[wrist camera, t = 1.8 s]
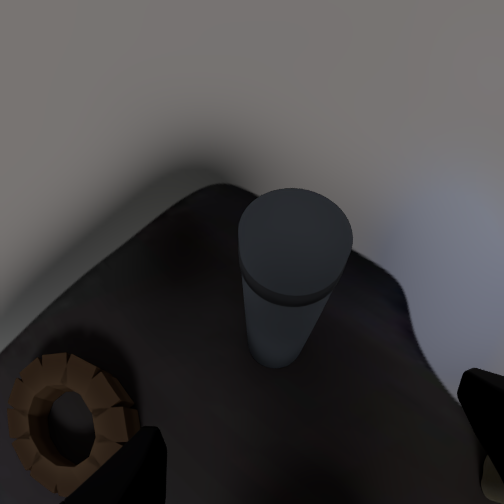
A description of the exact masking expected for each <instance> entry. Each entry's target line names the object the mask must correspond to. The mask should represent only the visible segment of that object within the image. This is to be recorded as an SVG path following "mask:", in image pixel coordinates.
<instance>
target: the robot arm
mask: <svg viewBox="0 0 504 504" xmlns="http://www.w3.org/2000/svg"><path fill="white" fill-rule="evenodd" d="M457 396H458V399H459V401H460V403H461V405H462V408H463V410H464V412H465V414H466V416H467V418H468V420H469V422H470V424H471V426H472V428H473V430H474V432H475V434H476V436H477V438H478V439H479V441H480V443H481V444H482V446H483V448H484V449H485V451H486V453H487V455H488V456H489V458H490V460H491V461H492V463H493V465H494V467H495V469H496V470H497V472H498V474H499V476H500V478H501V480H502V481H503V483H504V376H501V375H498V374H494V373H491V372H488V371H484V370H481V369H478V368H472V369H469V370H467V371H465V372H464V373H463V375H462V378H461V381H460V385H459V388H458V391H457ZM166 469H167V448H166V444H165V442H164V439H163V437H162V434H161V432H160V430H159V428H158V427H155V426H144V427H142V428H141V429H140V430H139V431H138V432H137V433H136V434H135V435H134V436H133V437H131V438H130V439H129V440H128V441H127V442H126V443H125V444H124V445H123V446H122V447H121V448H120V449H119V450H118V451H117V452H116V453H115V454H114V455H113V456H112V457H110V458H109V459H108V460H107V461H106V462H105V463H104V464H103V465H102V466H101V467H100V468H99V469H98V470H97V471H95V472H94V473H93V474H92V475H91V476H90V477H89V478H88V479H87V480H86V481H85V482H83V483H82V484H81V485H80V486H79V487H78V488H77V489H76V490H75V491H73V492H72V493H71V494H70V495H69V496H68V497H67V498H65V500H64V501H62V502H61V503H60V504H165V499H166Z"/></svg>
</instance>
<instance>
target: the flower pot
mask: <svg viewBox="0 0 504 504" xmlns="http://www.w3.org/2000/svg"><path fill="white" fill-rule="evenodd" d="M481 487H482V491H483V493H484V495H485V496H486V497H487V498H488V499H490V500H493V501H496V502H499V503H502V504H504V483H503V481H502V480H501V478H500V476H499V474H498V472H497V470H496V469H495V467H494V465H493V463H492V461H491V460H490V458H489V456H488V455H487V456H486V459H485V461H484V464H483V476H482V480H481Z"/></svg>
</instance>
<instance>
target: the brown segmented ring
mask: <svg viewBox="0 0 504 504" xmlns="http://www.w3.org/2000/svg"><path fill="white" fill-rule="evenodd" d="M20 376H21V378H22V379H19V378H16V380H15V383H14V386H13V389H12V392H11V395H10V398H9V401H8V403H9V404H10V405H11V406H12V407H13V408H14V409H7V413H8V425H9V434H10V438H17V440H15V441H14V442H13V443H12V445H13V447H14V449H15V451H16V453H17V455H18V457H19V459H20V461H21V462H22V464H23V466H24V468H25V470H31V473H30V476H32V477H33V478H34V479H35V480H37V481H38V482H39V483H40V484H42V485H43V486H44V487H46V488H47V489H48V490H50V491H51V492H52V493H58V494H59V496H64V497H68V496H69V495H70V494H71V493H72V492H73V491H75V490H76V489H77V488H78V487H79V486H80V485H81V484H82V483H83V482H85V481H86V480H87V479H88V478H89V477H90V476H91V475H92V474H93V473H94V472H95V471H97V470H98V469H99V468H100V467H101V466H102V465H103V464H104V463H105V462H106V461H107V460H108V459H109V458H110V457H112V456H113V455H114V454H115V453H116V452H117V451H118V450H119V449H120V448H121V447H122V446H123V445H124V444H125V443H126V442H127V441H128V440H129V439H130V438H131V437H133V436H134V435H135V434H136V433H137V432H138V431H139V430H140V429H141V428H140V422H139V416H138V410H136V409H131V408H130V407H131V406H133V405H134V404H135V403H134V402H133V401H132V399H131V398H130V396H129V395H128V394H127V392H126V391H125V389H124V388H123V387H122V385H121V384H120V382H119V381H118V379H117V378H114V377H112V374H110V373H108V372H106V371H104V370H102V369H100V368H98V367H96V366H94V365H92V364H90V363H89V362H87V361H85V360H83V359H81V358H79V357H77V356H75V355H73V354H71V355H70V354H68V353H57V354H48V355H42V359H40V358H38V357H37V358H36V359H35V360H34V361H33V362H31V363H30V364H29V365H28V366H27V367H26V368H25V369H24V370H22V371H21V372H20ZM70 391H75V392H77V393H78V394H80V395H81V397H82V398H83V400H84V402H85V403H86V405H87V406H88V408H89V410H90V411H91V413H92V415H93V422H94V429H95V435H96V438H95V441H94V444H93V447H92V450H91V453H90V456H89V457H88V458H87V459H86V460H84V461H83V462H81V463H80V464H78V465H75V464H74V463H72V462H71V461H69V460H68V459H66V458H65V457H63V456H62V455H60V453H59V452H58V450H57V449H56V447H55V445H54V444H53V442H52V440H51V438H50V435H49V427H48V415H49V413H50V410H51V407H52V404H53V402H54V401H55V400H56V399H57V398H59V397H60V396H61V395H62V394H64V393H65V392H70Z"/></svg>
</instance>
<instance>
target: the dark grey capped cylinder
mask: <svg viewBox="0 0 504 504" xmlns="http://www.w3.org/2000/svg"><path fill="white" fill-rule="evenodd" d="M238 237H239V242H238V255H239V265H240V270H241V273H242V283H243V294H244V305H245V316H246V327H247V338H248V347H249V351H250V353H251V355H252V357H253V358H254V359H255V360H256V361H257V362H258V363H259V364H261V365H263V366H265V367H268V368H282V367H285V366H287V365H289V364H291V363H292V362H293V361H295V359H296V358H297V357H298V356H299V354H300V352H301V350H302V348H303V346H304V345H305V343H306V341H307V339H308V337H309V335H310V333H311V332H312V330H313V328H314V326H315V324H316V322H317V320H318V318H319V316H320V314H321V312H322V310H323V308H324V306H325V304H326V302H327V300H328V298H329V296H330V294H331V292H332V290H333V289H334V288H335V286H336V285H337V283H338V281H339V279H340V277H341V275H342V273H343V271H344V269H345V266H346V262H347V259H348V257H349V254H350V252H351V249H352V244H353V235H352V229H351V226H350V223H349V221H348V219H347V217H346V216H345V214H344V213H343V211H342V210H341V209H340V208H339V207H338V206H337V205H336V204H335V203H333V202H332V201H331V200H329V199H328V198H326V197H324V196H322V195H320V194H318V193H315V192H312V191H309V190H304V189H297V188H285V189H279V190H274V191H271V192H268V193H266V194H264V195H261V196H260V197H258V198H257V199H255V200H254V201H253V202H252V203H251V204H250V205H249V206H248V207H247V208H246V209H245V211H244V212H243V214H242V216H241V219H240V222H239V228H238Z"/></svg>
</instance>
